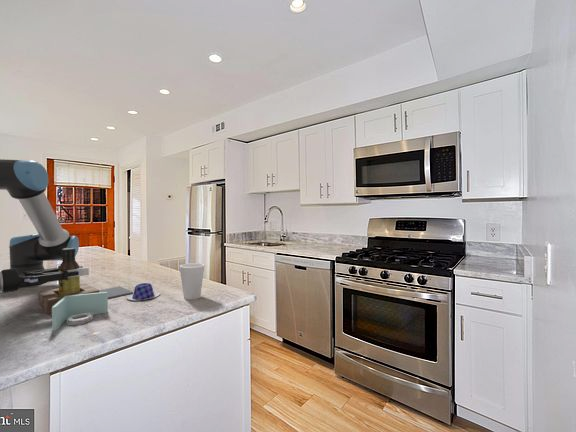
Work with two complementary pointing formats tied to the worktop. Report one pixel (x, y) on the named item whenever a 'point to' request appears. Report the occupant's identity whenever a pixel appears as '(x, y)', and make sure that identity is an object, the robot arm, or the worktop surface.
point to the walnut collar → (59, 296)
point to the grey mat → (116, 292)
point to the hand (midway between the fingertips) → (85, 269)
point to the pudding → (143, 292)
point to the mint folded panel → (78, 308)
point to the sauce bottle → (69, 264)
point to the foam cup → (192, 280)
